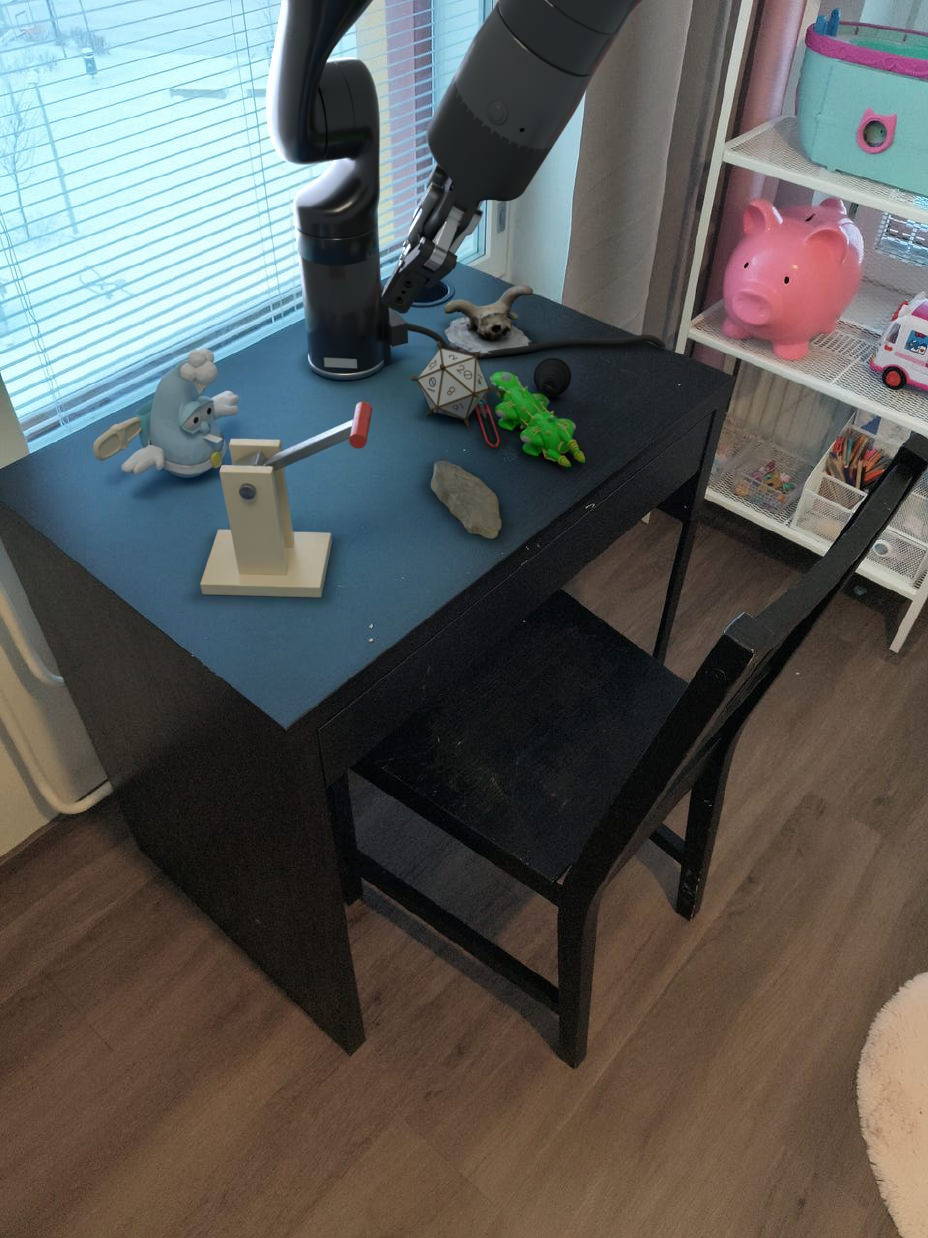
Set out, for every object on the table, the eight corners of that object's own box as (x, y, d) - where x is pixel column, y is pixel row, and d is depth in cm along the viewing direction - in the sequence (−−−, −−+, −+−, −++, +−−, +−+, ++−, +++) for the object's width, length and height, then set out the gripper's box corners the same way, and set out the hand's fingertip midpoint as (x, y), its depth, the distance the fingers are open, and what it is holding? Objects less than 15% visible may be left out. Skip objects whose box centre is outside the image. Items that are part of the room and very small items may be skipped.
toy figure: (180, 528, 98) (148, 396, 88) (101, 496, 102) (61, 365, 92) (282, 445, 109) (264, 318, 99) (207, 419, 113) (182, 294, 102)
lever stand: (332, 542, 97) (320, 431, 88) (321, 598, 91) (307, 484, 83) (220, 539, 97) (197, 427, 88) (202, 594, 92) (175, 481, 83)
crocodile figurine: (520, 388, 118) (521, 356, 115) (602, 468, 107) (607, 434, 104) (470, 401, 116) (471, 368, 113) (549, 484, 104) (552, 450, 101)
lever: (378, 416, 85) (363, 394, 84) (372, 449, 82) (357, 426, 80) (253, 471, 90) (237, 451, 88) (243, 505, 86) (226, 485, 85)
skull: (439, 328, 130) (434, 287, 126) (524, 309, 131) (521, 268, 127) (458, 370, 123) (452, 328, 119) (546, 349, 124) (544, 307, 120)
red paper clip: (503, 444, 109) (503, 449, 110) (481, 376, 119) (481, 381, 119) (486, 445, 109) (486, 450, 109) (465, 377, 119) (465, 382, 119)
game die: (467, 437, 117) (522, 375, 112) (438, 450, 110) (495, 384, 105) (415, 382, 118) (467, 318, 112) (382, 392, 110) (436, 324, 105)
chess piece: (558, 402, 117) (555, 417, 108) (526, 383, 117) (520, 396, 108) (578, 369, 116) (577, 382, 107) (546, 349, 115) (542, 360, 106)
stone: (472, 552, 98) (515, 544, 100) (478, 531, 96) (522, 523, 98) (415, 470, 105) (457, 464, 108) (420, 448, 103) (462, 443, 106)
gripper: (554, 186, 60) (426, 381, 72) (564, 85, 68) (447, 276, 80) (444, 121, 57) (331, 333, 70) (468, 24, 65) (363, 230, 78)
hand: (393, 302), depth 75 cm, fingers closed
